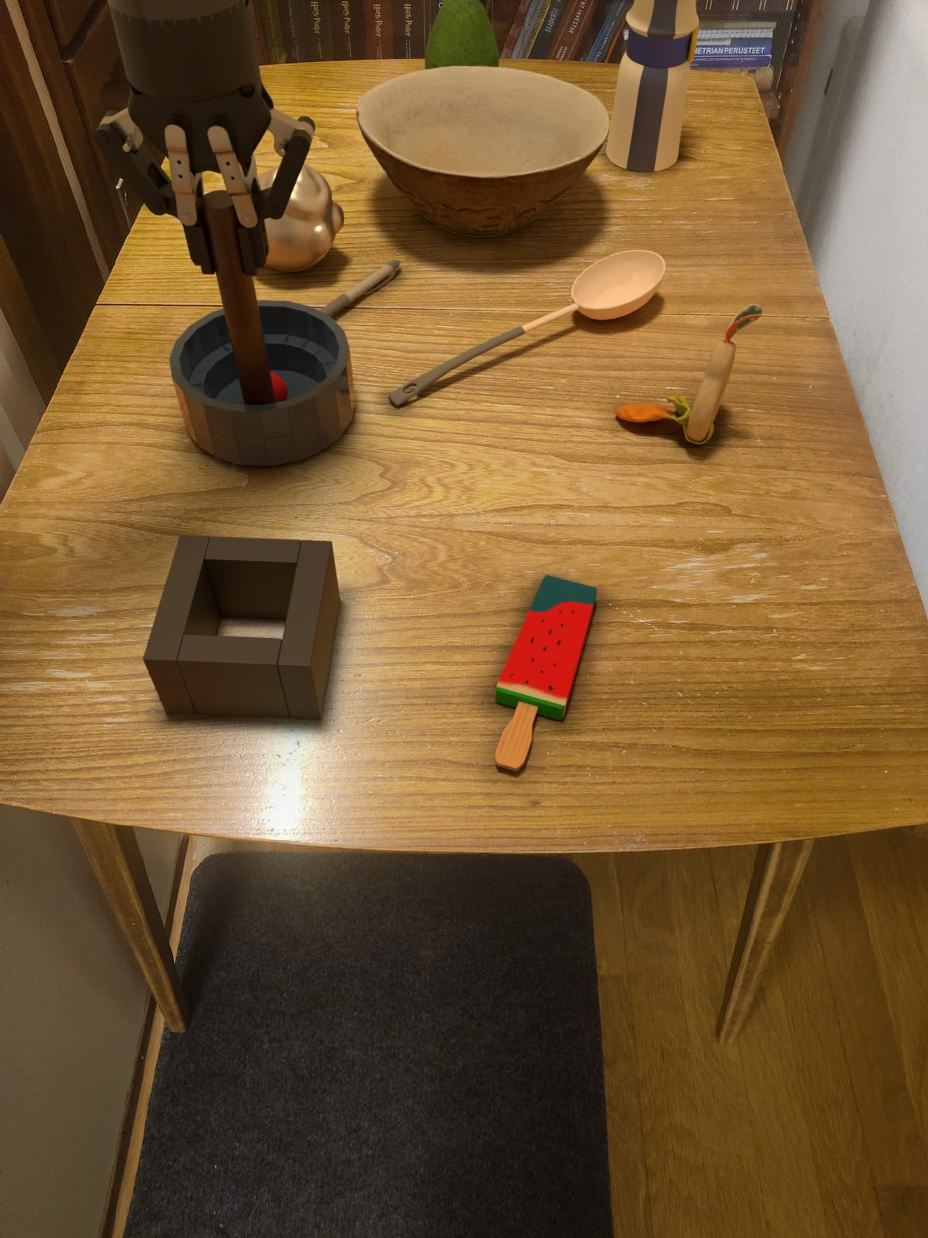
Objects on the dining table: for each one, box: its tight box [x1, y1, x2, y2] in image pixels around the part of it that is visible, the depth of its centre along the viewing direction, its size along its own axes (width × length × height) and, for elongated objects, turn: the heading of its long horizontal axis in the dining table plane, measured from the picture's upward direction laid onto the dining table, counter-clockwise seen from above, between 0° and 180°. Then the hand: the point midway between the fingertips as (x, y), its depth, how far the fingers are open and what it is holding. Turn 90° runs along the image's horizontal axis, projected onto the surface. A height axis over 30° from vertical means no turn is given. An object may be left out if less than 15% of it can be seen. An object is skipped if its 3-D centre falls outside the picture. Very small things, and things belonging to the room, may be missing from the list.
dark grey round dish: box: [168, 299, 356, 467], centre depth 79 cm, size 14×14×6 cm
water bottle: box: [605, 0, 700, 173], centre depth 98 cm, size 8×9×25 cm
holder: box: [142, 534, 341, 721], centre depth 65 cm, size 10×10×6 cm
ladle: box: [387, 249, 667, 407], centre depth 87 cm, size 6×28×5 cm, turn 124°
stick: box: [200, 189, 276, 405], centre depth 71 cm, size 2×2×18 cm
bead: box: [270, 372, 288, 402], centre depth 80 cm, size 3×3×3 cm
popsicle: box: [494, 574, 598, 772], centre depth 65 cm, size 5×2×15 cm
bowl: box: [355, 66, 610, 238], centre depth 97 cm, size 24×24×10 cm
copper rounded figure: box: [257, 163, 345, 273], centre depth 91 cm, size 9×10×10 cm
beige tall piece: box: [614, 303, 763, 445], centre depth 77 cm, size 8×8×12 cm
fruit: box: [424, 0, 500, 70], centre depth 109 cm, size 8×8×12 cm
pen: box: [319, 258, 402, 318], centre depth 90 cm, size 1×14×1 cm, turn 142°
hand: (233, 267), depth 68 cm, fingers closed on stick, 2 cm apart
